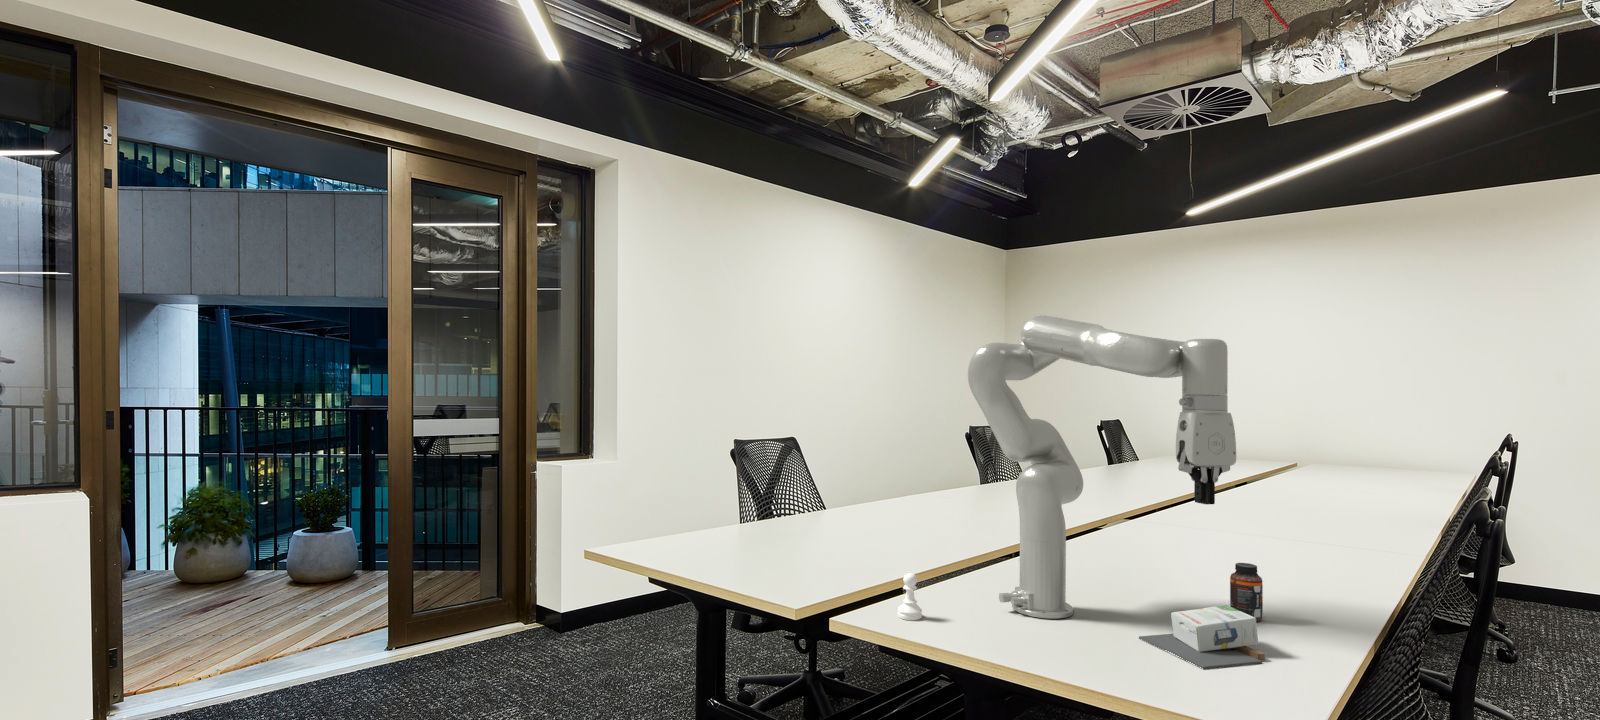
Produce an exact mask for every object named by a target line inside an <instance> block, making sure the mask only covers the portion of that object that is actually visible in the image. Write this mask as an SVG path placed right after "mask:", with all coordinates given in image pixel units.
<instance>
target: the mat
mask: <svg viewBox="0 0 1600 720" xmlns="http://www.w3.org/2000/svg"><path fill="white" fill-rule="evenodd" d="M1138 639H1139V640H1141V639H1142V640H1141V641H1143V642H1145V641H1146V643H1147V642H1148V644H1149V643H1150V644H1149V645H1151V644H1152V645H1151V646H1153V645H1155V646H1157V647H1156V648H1158V647H1159V648H1158V649H1160V648H1161V649H1160V650H1162V649H1164V650H1167V651H1169V652H1171V653H1173V654H1175V655H1177V656H1179V657H1181V658H1183V659H1185V660H1187V661H1189V662H1191V663H1193V664H1195V665H1197V666H1199V667H1198V668H1200V667H1201V668H1200V669H1202V668H1203V669H1202V670H1207V669H1206V668H1211V669H1218V668H1219V667H1221V668H1228V667H1229V668H1231V667H1240V666H1248V665H1260V664H1262V663H1263V661H1261V660H1258V659H1256V658H1253V657H1251V656H1249V655H1246V654H1244V653H1242V652H1239V651H1237V650H1235V649H1232V648H1227V649H1219V650H1211V651H1203V652H1198V651H1197V650H1195V649H1193V648H1192V647H1190V646H1189V645H1187V644H1185V643H1184V642H1182V641H1181V640H1179V639H1177V638H1176V637H1174V636H1173V633H1162V634H1152V635H1143V636H1141V635H1140V636H1138ZM1155 646H1154V647H1155ZM1164 650H1163V651H1164ZM1179 657H1178V658H1179ZM1181 658H1180V659H1181ZM1183 659H1182V660H1183ZM1185 660H1184V661H1185ZM1187 661H1186V662H1187ZM1189 662H1188V663H1189ZM1191 663H1190V664H1191ZM1193 664H1192V665H1193ZM1195 665H1194V666H1195ZM1197 666H1196V667H1197Z"/></svg>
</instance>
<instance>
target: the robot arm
mask: <svg viewBox="0 0 1600 720" xmlns="http://www.w3.org/2000/svg"><path fill="white" fill-rule="evenodd" d="M1020 330H1021V331H1020V338H1021V341H1020V342H1018V343H1017V344H1016V343H1009V342H1008V343H1006V342H990V343H987V344H983V345H982V346H980V347H978V349H977V350H975V352H974V353H973V354H972V356H971V358H970V361H969V364H968V369H967V381H968V385H969V388H970V391H971V393H972V395H973V397H974V400H975V401H976V402H977V404H978V406H979V408H980V409H981V411H982V413H983V415H984V417H985V419H986V421H987V423H988V425H989V427H990V429H991V431H992V433H993V435H994V437H995V439H996V441H997V443H998V445H999V447H1000V449H1001V451H1002V452H1003V454H1004V455H1005V457H1007V458H1008V459H1009V460H1010V461H1012V462H1016V463H1028V462H1030V464H1031V465H1029V466H1026V467H1025V468H1023V470H1022V471H1021V472H1020V473H1019V475H1018V477H1017V480H1016V485H1015V491H1016V492H1015V493H1016V499H1017V505H1018V512H1019V513H1018V516H1019V586H1014V590H1013V591H1012V592H1001V593H999V594H998V601H999V602H1000V603H1010V604H1011V608H1012V609H1013V610H1014V611H1016V612H1017V613H1019V614H1022V615H1024V616H1029V617H1033V618H1034V617H1035V618H1039V619H1049V620H1050V619H1057V620H1058V619H1064V618H1065V619H1066V618H1069V617H1071V616H1072V615H1073V614H1074V607H1073V606H1072V605H1071V604H1069V603H1067V602H1066V599H1067V595H1066V591H1067V590H1066V589H1067V586H1066V585H1067V584H1066V583H1067V582H1066V576H1067V573H1066V572H1067V568H1066V567H1067V535H1066V534H1067V533H1066V532H1067V528H1066V519H1065V516H1064V515H1065V514H1064V511H1063V505H1065V504H1069V503H1072V502H1074V501H1076V500H1077V499H1078V498H1079V497H1081V495H1082V493H1083V489H1084V479H1083V476H1082V475H1083V474H1082V471H1081V470H1080V468H1079V466H1078V464H1077V462H1076V461H1075V458H1074V456H1073V455H1072V453H1071V452H1070V450H1069V448H1068V445H1067V444H1066V442H1065V441H1064V439H1063V438H1062V435H1061V434H1060V432H1059V431H1058V430H1057V428H1056V427H1055V426H1054V425H1053V424H1051V423H1050V422H1049V421H1046V420H1044V419H1041V418H1031V417H1030V415H1028V414H1027V411H1026V410H1025V408H1024V407H1023V404H1022V403H1021V400H1020V399H1019V397H1018V395H1016V393H1015V391H1013V390H1012V389H1011V387H1009V385H1008V383H1007V381H1023V380H1026V379H1028V378H1031V377H1034V375H1036V374H1038V373H1039V372H1041V371H1043V370H1044V369H1046V368H1047V367H1049V366H1050V365H1052V364H1053V363H1056V361H1059V360H1060V359H1062V360H1066V361H1070V362H1075V363H1079V364H1084V365H1088V366H1091V367H1092V366H1093V367H1101V368H1104V369H1109V370H1114V371H1116V372H1117V371H1119V372H1123V373H1125V374H1131V375H1136V376H1140V377H1146V378H1158V379H1159V378H1161V379H1162V378H1163V379H1169V378H1177V377H1181V397H1182V398H1180V399H1179V400H1178V404H1179V405H1180V406H1182V407H1181V408H1182V409H1181V411H1180V412H1179V416H1178V422H1177V426H1176V435H1175V437H1176V438H1175V458H1176V461H1177V463H1178V467H1177V468H1178V471H1179V472H1183V473H1186V474H1188V475H1189V476H1190V478H1191V481H1193V482H1194V483H1193V484H1194V486H1193V487H1194V495H1193V496H1194V498H1193V499H1194V503H1197V504H1201V505H1215V501H1216V499H1215V497H1216V496H1215V495H1216V494H1215V493H1216V491H1215V489H1216V487H1215V485H1216V483H1218V481H1219V477H1220V475H1222V474H1224V473H1226V472H1229V471H1231V466H1234V465H1235V464H1236V462H1237V442H1236V430H1235V423H1234V420H1233V415H1232V413H1231V412H1228V409H1229V408H1228V401H1229V400H1228V383H1229V382H1228V377H1229V376H1228V370H1229V369H1228V365H1229V364H1228V353H1229V352H1228V345H1227V343H1226V341H1224V340H1222V339H1219V338H1194V339H1193V338H1192V339H1188V340H1186V341H1181V340H1180V341H1179V340H1171V339H1167V338H1159V337H1152V336H1151V337H1150V336H1146V335H1138V334H1133V333H1128V332H1122V331H1117V330H1113V329H1107V328H1105V327H1104V326H1103V325H1100V324H1096V323H1089V322H1085V321H1079V320H1072V319H1067V318H1062V317H1057V316H1051V315H1035V316H1031V318H1029V319H1027V320H1026V321H1025V322H1024V324H1023V325H1022V328H1021V329H1020Z"/></svg>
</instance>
